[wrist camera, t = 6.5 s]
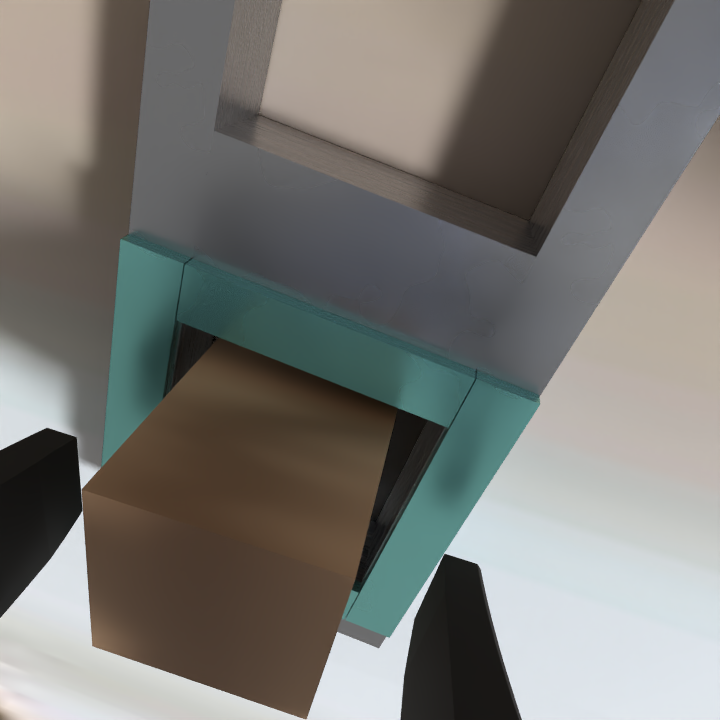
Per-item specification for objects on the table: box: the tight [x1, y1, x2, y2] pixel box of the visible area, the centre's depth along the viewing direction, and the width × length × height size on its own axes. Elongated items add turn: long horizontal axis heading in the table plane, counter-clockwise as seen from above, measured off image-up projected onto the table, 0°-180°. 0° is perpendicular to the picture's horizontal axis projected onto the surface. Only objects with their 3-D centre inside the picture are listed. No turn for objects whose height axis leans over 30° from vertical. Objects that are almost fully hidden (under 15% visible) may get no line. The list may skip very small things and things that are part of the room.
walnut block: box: [82, 338, 398, 719], centre depth 11 cm, size 4×4×6 cm
